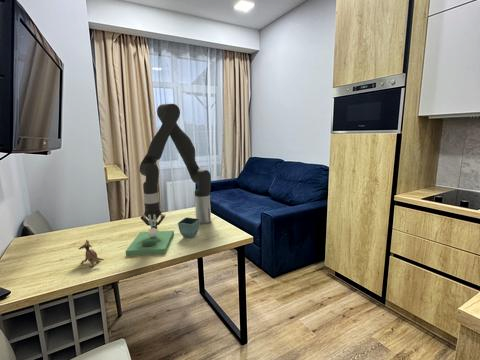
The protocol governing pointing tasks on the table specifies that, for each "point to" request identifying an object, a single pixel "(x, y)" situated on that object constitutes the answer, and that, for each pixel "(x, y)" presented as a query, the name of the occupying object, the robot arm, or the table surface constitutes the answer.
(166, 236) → the putting mat
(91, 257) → the dinosaur figurine
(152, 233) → the ball
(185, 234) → the flower pot
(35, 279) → the table surface
